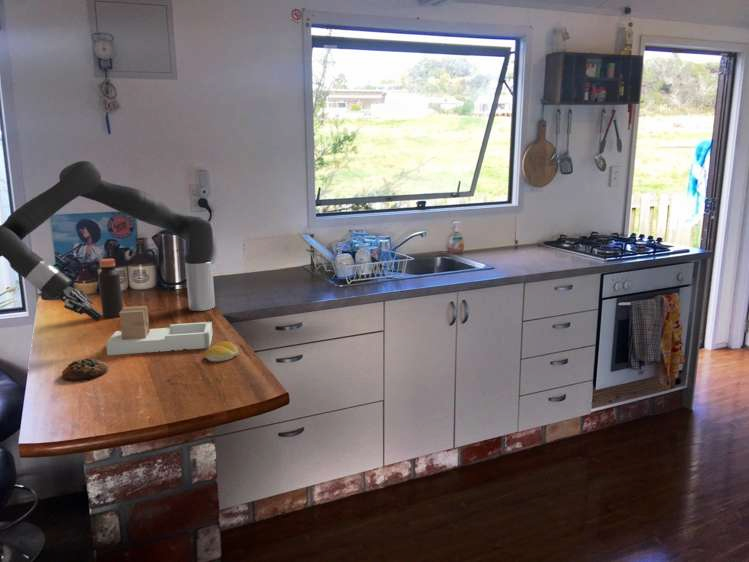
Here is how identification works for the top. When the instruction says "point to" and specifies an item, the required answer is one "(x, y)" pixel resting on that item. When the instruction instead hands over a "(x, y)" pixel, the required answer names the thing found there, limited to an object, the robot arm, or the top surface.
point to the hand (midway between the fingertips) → (100, 318)
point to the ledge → (138, 343)
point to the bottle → (110, 289)
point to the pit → (189, 336)
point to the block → (134, 322)
